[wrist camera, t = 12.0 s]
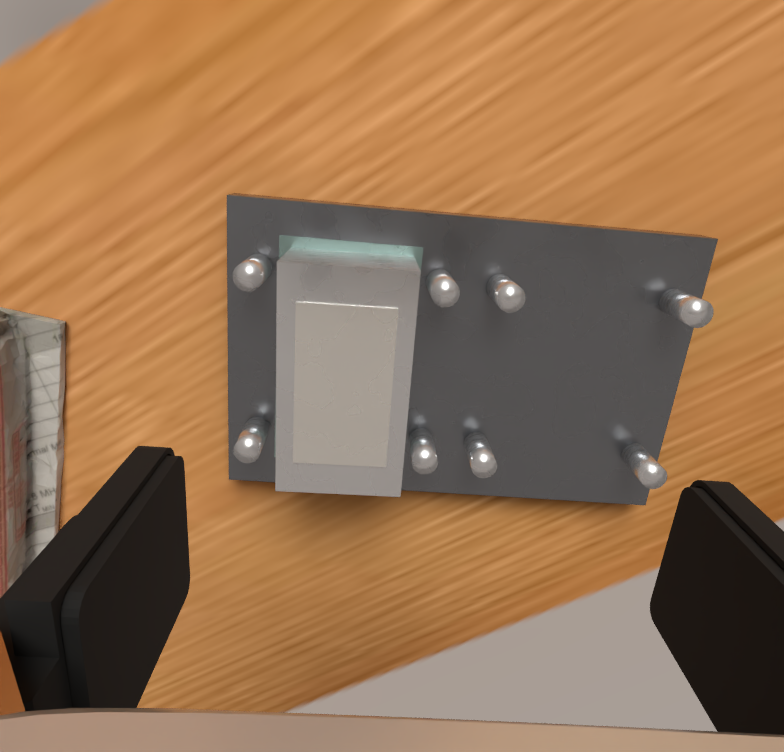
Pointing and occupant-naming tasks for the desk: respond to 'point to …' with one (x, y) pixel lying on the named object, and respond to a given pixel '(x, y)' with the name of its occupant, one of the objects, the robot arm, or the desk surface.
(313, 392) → the block
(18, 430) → the packaged product
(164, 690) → the desk surface
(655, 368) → the tray
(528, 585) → the desk surface
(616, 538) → the desk surface
